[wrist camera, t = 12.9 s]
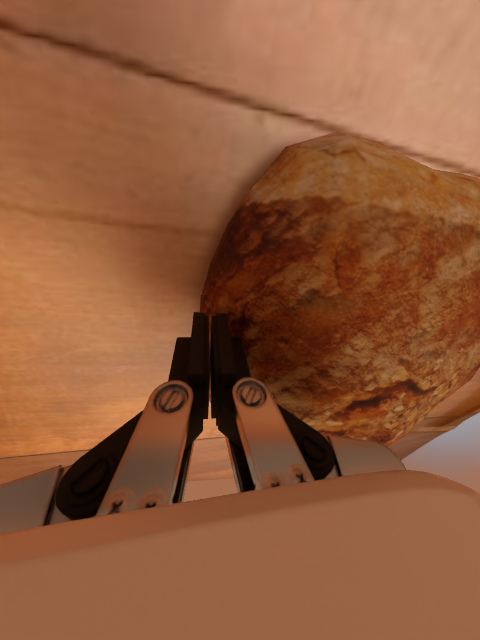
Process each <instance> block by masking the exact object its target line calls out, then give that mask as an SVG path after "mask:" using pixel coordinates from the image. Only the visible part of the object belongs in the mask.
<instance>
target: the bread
mask: <svg viewBox="0 0 480 640" xmlns="http://www.w3.org/2000/svg"><path fill="white" fill-rule="evenodd" d="M200 312H203V313H205V315H209V345H210V340H211V318H212V316H216V313H226V314H227V319H228V325H229V331H230V336H231V337H241V339H242V342H243V346H244V350H245V354H246V358H247V362H248V366H249V370H250V374H251V377H253V378H257V379H259V380H261V381H262V382H263V383H265V384H266V385H267V387H268V388H269V390H270V392H271V394H272V396H273V398H274V400H275V402H276V403H277V404H278V405H280V406H281V407H283V408H284V409H285V410H287V411H288V412H290V413H291V414H293V415H294V416H296V417H297V418H299V419H300V420H302V421H303V422H305V423H306V424H308V425H309V426H311V427H312V428H314V429H315V430H317V431H318V432H319V433H320V434H322V435H323V436H326V437H328V436H329V434H330V435H336V436H342V437H349V438H355V439H362V440H368V441H374V442H378V443H381V444H384V445H385V446H387V447H388V446H389V445H391V444H392V443H394V442H395V441H397V440H398V439H400V438H401V437H403V436H404V435H406V434H407V433H408V432H409V431H410V430H411V429H412V428H413V427H414V426H415V425H417V424H418V423H420V422H421V421H422V420H424V419H425V418H426V417H427V416H428V415H429V414H430V413H431V412H432V411H433V410H434V409H435V408H436V407H437V406H438V405H439V404H440V403H441V402H442V401H444V400H445V399H446V398H447V397H449V396H450V395H451V394H453V393H454V392H455V391H456V390H458V389H459V388H460V387H462V386H463V385H464V384H465V383H467V382H468V381H469V380H471V378H472V377H473V375H474V374H475V373H476V371H477V370H478V369H479V367H480V179H479V178H475V177H471V176H468V175H464V174H460V173H453V172H446V171H439V170H433V169H431V168H429V167H427V166H425V165H422V164H420V163H418V162H416V161H414V160H412V159H410V158H408V157H406V156H404V155H402V154H400V153H398V152H396V151H395V150H393V149H391V148H389V147H387V146H385V145H383V144H381V143H378V142H374V141H370V140H367V139H363V138H359V137H356V136H352V135H348V134H345V133H341V132H335V133H331V134H328V135H325V136H321V137H318V138H314V139H311V140H308V141H304V142H301V143H297V144H294V145H291V146H287V147H286V148H285V149H284V150H283V151H282V153H281V154H280V155H279V156H278V158H277V159H276V160H275V161H274V163H273V164H272V165H271V166H270V168H269V169H268V170H267V171H266V173H265V174H264V175H263V176H262V178H261V179H260V180H259V181H258V182H257V183H256V184H255V185H254V186H253V187H252V189H251V190H250V192H249V193H248V195H247V196H246V198H245V199H244V201H243V202H242V204H241V205H240V207H239V208H238V210H237V212H236V213H235V215H234V216H233V218H232V219H231V221H230V222H229V224H228V225H227V227H226V230H225V232H224V234H223V237H222V239H221V241H220V243H219V246H218V248H217V250H216V252H215V255H214V257H213V259H212V261H211V264H210V267H209V271H208V274H207V278H206V281H205V285H204V288H203V292H202V295H201V306H200ZM209 401H210V402H211V385H210V388H209Z"/></svg>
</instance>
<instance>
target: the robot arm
mask: <svg viewBox="0 0 480 640" xmlns="http://www.w3.org/2000/svg"><path fill="white" fill-rule="evenodd" d="M210 385H211V418H212V419H213V418H216V426H218V430H219V431H220V432H222V433H223V434H224V435H225V436H226V443H227V447H228V452H229V456H230V461H231V465H232V469H233V474H234V478H235V483H236V487H237V491H238V493H236V494H230V495H223V496H218V497H212V498H206V499H200V500H193V501H187V502H183V500H184V495H185V489H186V484H187V479H188V473H189V468H190V462H191V457H192V452H193V446H194V440H195V439H196V438H197V437H198V436H199V435H200V433H201V432H202V431H203V419H208V407H209V388H210ZM0 640H480V493H478V492H477V491H475V490H472V489H471V488H469V487H467V486H464V485H462V484H460V483H457V482H455V481H452V480H449V479H447V478H444V477H441V476H437V475H434V474H430V473H427V472H420V471H412V470H406V468H405V466H404V465H403V463H402V462H401V460H400V459H399V457H398V456H397V455H396V454H395V453H394V452H393V451H392V450H391V449H390V448H388V447H387V446H385V445H384V444H381V443H378V442H374V441H368V440H362V439H355V438H349V437H342V436H336V435H330V434H329V436H328V437H326V436H323V435H322V434H320V433H319V432H318V431H317V430H315V429H314V428H312V427H311V426H309V425H308V424H306V423H305V422H303V421H302V420H300V419H299V418H297V417H296V416H294V415H293V414H291V413H290V412H288V411H287V410H285V409H284V408H283V407H281V406H280V405H278V404H277V403H276V402H275V400H274V398H273V396H272V394H271V392H270V390H269V388H268V387H267V385H266V384H265V383H263V382H262V381H261V380H259V379H257V378H253V377H251V374H250V370H249V366H248V362H247V358H246V354H245V350H244V346H243V342H242V339H241V337H231V336H230V331H229V325H228V319H227V314H226V313H216V316H212V318H211V340H210V345H209V315H205V313H203V312H194V315H193V325H192V335H191V337H177V340H176V345H175V350H174V355H173V360H172V365H171V370H170V375H169V380H168V382H165V383H163V384H161V385H159V386H158V387H157V388H156V389H155V390H154V391H153V392H152V394H151V395H150V397H149V400H148V402H147V404H146V406H145V408H144V410H143V411H141V412H140V413H139V414H138V415H136V416H135V417H134V418H132V419H131V420H130V421H128V422H127V423H126V424H124V425H123V426H122V427H120V428H119V429H118V430H116V431H115V432H114V433H112V434H111V435H110V436H108V437H107V438H106V439H104V440H103V441H102V442H100V443H99V444H98V445H97V446H95V447H94V448H93V449H91V450H90V451H89V452H87V453H86V454H85V455H83V456H82V457H81V458H79V459H78V460H77V461H76V462H75V463H74V464H72V465H69V466H66V467H62V465H60V466H57V467H53V468H50V469H47V470H44V471H41V472H38V473H35V474H32V475H29V476H26V477H23V478H19V479H16V480H13V481H10V482H7V483H4V484H1V485H0Z"/></svg>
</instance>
